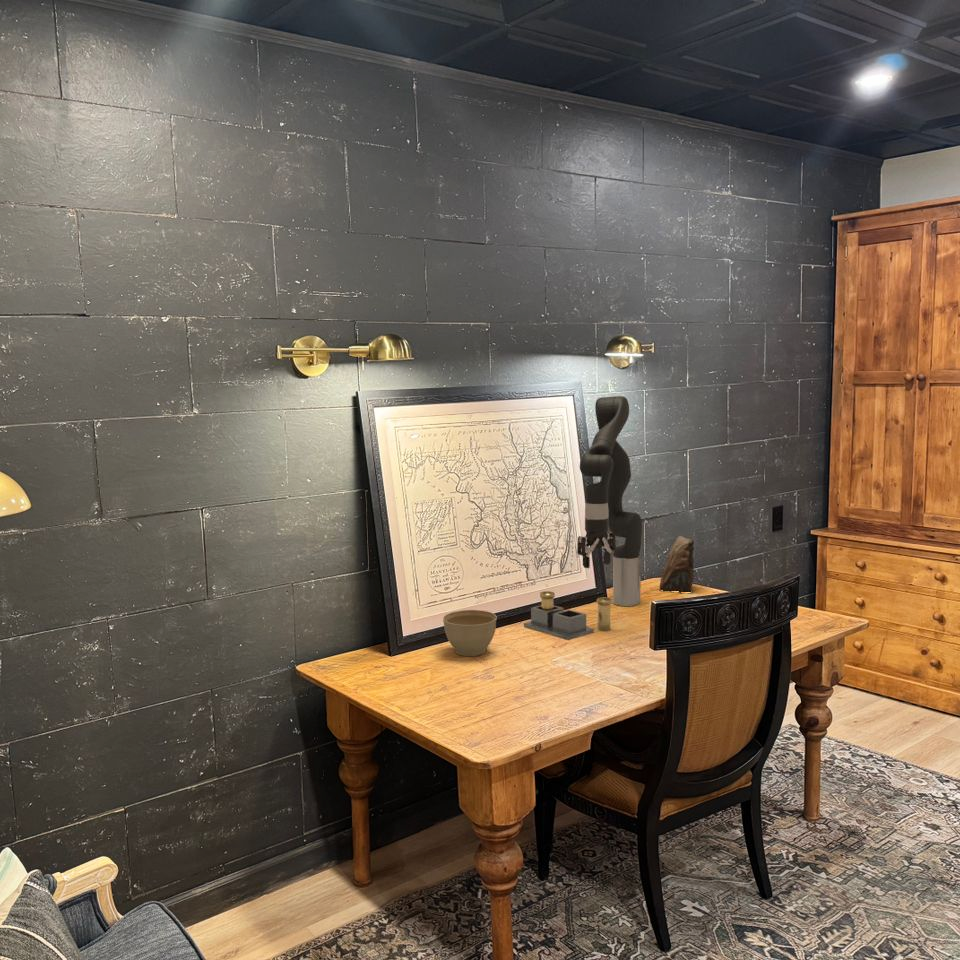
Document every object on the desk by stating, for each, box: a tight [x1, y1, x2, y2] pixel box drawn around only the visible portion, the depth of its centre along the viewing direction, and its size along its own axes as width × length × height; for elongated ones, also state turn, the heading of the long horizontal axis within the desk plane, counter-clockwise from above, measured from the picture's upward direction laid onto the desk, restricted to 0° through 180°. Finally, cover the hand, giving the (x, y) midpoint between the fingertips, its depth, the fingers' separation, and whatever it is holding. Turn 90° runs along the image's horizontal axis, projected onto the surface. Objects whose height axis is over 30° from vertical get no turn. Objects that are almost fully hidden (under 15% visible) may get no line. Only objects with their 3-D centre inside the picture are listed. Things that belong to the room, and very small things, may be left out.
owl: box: [659, 534, 695, 592], centre depth 344 cm, size 13×13×20 cm
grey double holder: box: [523, 590, 595, 641], centre depth 295 cm, size 12×20×11 cm, turn 41°
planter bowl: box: [442, 609, 498, 657], centre depth 273 cm, size 16×16×11 cm
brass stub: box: [596, 596, 613, 632], centre depth 295 cm, size 5×5×10 cm
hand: (596, 566), depth 293 cm, fingers open, 8 cm apart
